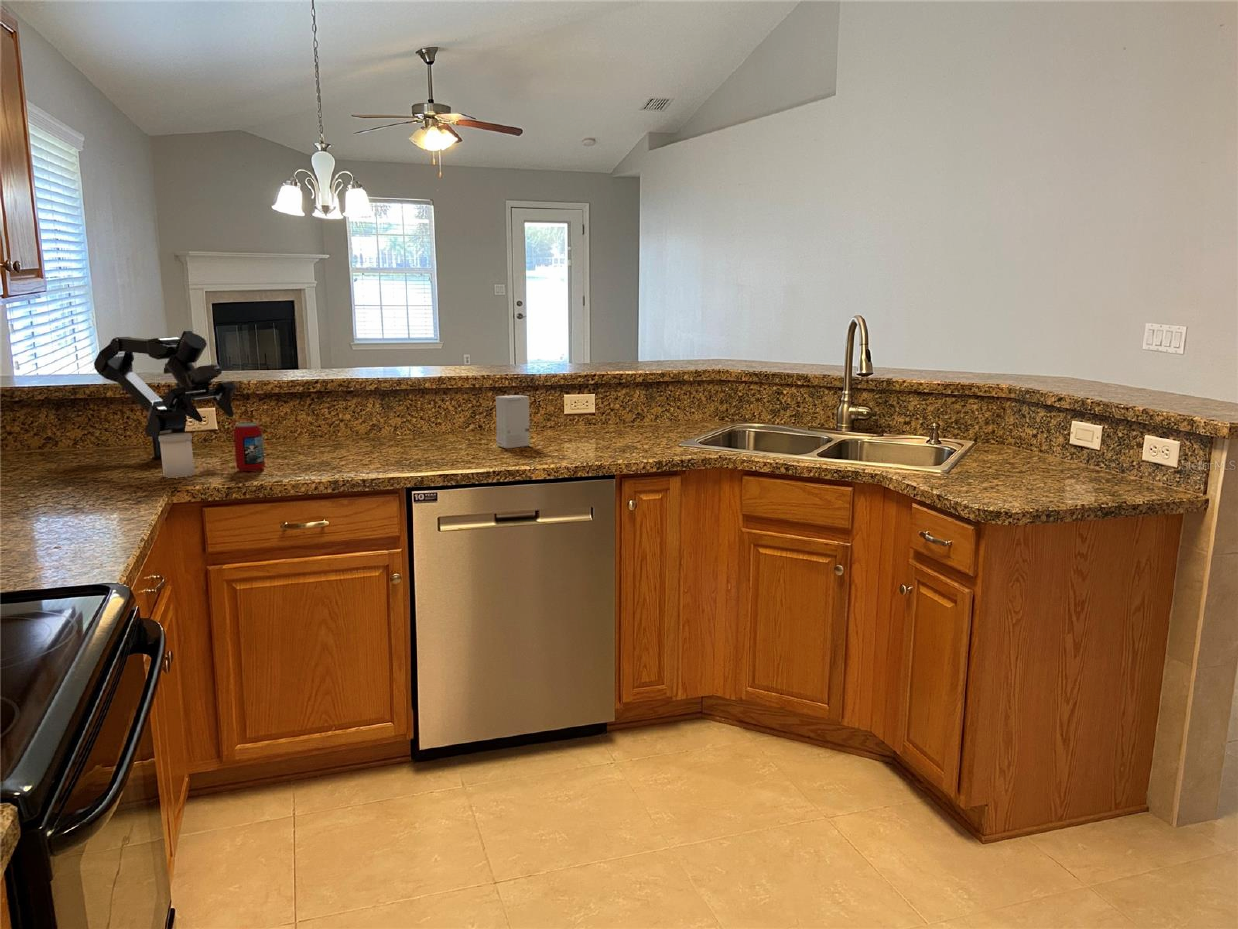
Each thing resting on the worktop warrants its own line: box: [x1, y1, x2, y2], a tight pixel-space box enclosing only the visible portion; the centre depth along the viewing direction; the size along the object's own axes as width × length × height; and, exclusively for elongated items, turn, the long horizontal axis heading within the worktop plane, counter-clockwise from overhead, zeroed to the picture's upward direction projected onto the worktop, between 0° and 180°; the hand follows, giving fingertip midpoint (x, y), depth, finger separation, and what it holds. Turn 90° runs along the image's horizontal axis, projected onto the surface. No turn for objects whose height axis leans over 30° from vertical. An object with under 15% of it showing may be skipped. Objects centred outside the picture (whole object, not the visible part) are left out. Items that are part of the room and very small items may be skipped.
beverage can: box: [233, 421, 266, 472], centre depth 230 cm, size 7×7×12 cm
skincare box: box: [495, 394, 531, 450], centre depth 262 cm, size 8×6×15 cm
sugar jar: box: [158, 432, 195, 479], centre depth 224 cm, size 7×7×10 cm
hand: (217, 418), depth 235 cm, fingers open, 9 cm apart
